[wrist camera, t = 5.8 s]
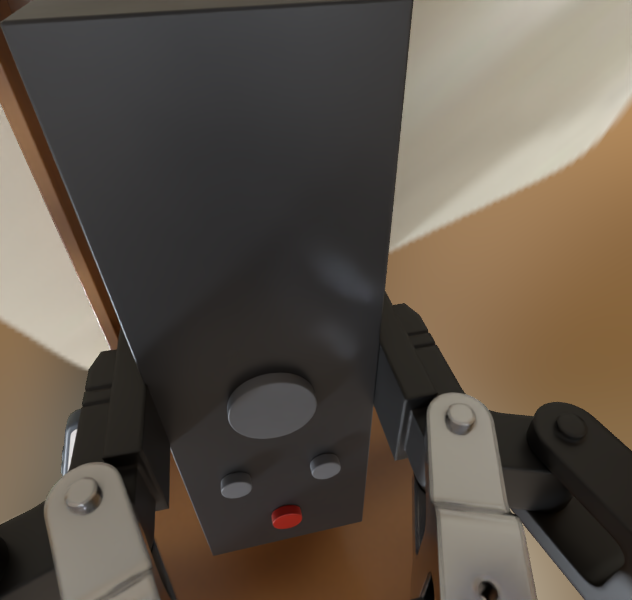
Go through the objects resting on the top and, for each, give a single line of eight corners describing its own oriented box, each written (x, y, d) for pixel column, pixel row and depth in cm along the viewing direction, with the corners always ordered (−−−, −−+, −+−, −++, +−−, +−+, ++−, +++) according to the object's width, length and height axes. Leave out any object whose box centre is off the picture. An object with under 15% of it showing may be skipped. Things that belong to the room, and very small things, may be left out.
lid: (49, 970, 12) (116, 921, 15) (551, 797, 14) (501, 791, 17) (113, 365, 25) (141, 418, 28) (364, 322, 27) (359, 377, 30)
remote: (53, -17, 8) (-12, 26, 5) (349, -31, 8) (424, -1, 6) (208, 467, 17) (213, 566, 15) (338, 440, 18) (365, 531, 16)
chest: (-32, -68, 16) (-75, -63, 14) (350, -84, 18) (379, -83, 16) (122, 320, 28) (116, 364, 25) (345, 284, 30) (361, 321, 27)
